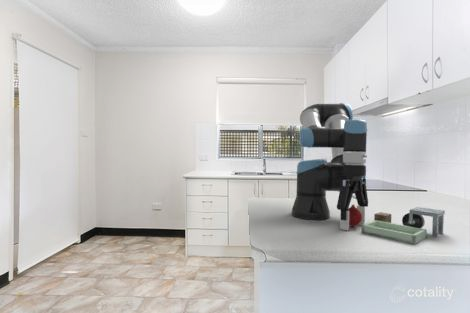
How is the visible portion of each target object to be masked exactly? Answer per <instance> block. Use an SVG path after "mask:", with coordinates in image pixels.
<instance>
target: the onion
mask: <svg viewBox="0 0 470 313" xmlns="http://www.w3.org/2000/svg"><path fill="white" fill-rule="evenodd" d="M348 211H349V227H350V228H355V227H356V226H358V225H360V224H359V223H360V222H361V220H362V214H361V212H360V211H359V210H358V209H357V207H356V205H355V204H353V203H352V204H351V206H349V208H348Z"/></svg>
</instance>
